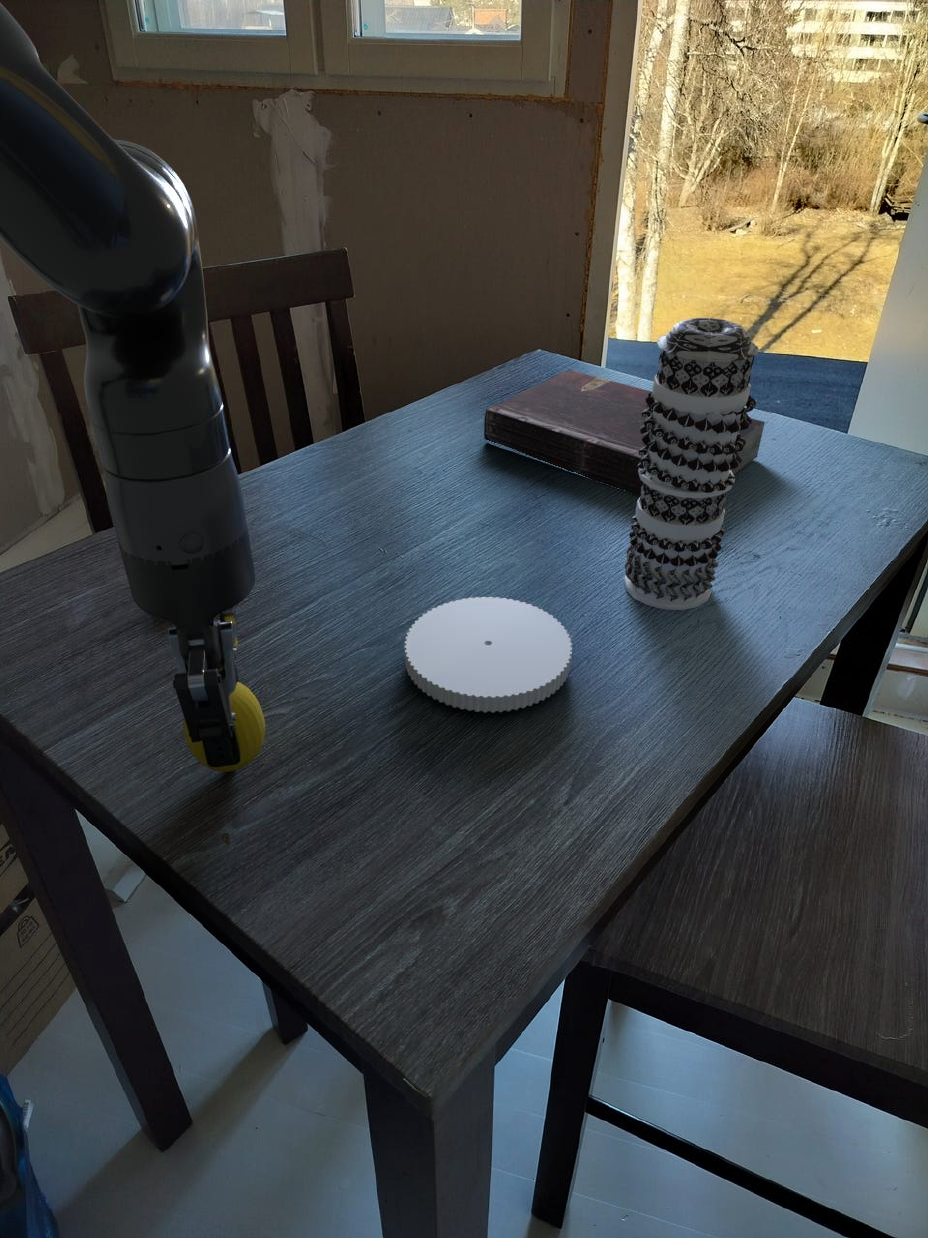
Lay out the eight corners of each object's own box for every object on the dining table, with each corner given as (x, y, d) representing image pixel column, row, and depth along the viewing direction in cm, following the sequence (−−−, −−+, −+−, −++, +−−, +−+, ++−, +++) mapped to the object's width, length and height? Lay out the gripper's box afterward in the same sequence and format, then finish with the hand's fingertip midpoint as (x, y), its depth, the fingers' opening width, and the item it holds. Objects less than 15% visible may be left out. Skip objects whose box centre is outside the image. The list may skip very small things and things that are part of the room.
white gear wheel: (493, 602, 81) (494, 579, 79) (604, 672, 72) (607, 649, 70) (372, 660, 73) (371, 637, 72) (480, 747, 64) (480, 722, 63)
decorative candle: (716, 618, 78) (775, 348, 64) (615, 605, 80) (650, 338, 66) (716, 568, 86) (768, 314, 71) (623, 556, 87) (656, 306, 73)
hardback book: (483, 443, 111) (484, 406, 108) (566, 403, 122) (569, 369, 119) (683, 513, 95) (691, 472, 92) (756, 459, 107) (764, 421, 104)
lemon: (180, 787, 61) (158, 702, 56) (216, 735, 65) (198, 653, 61) (251, 801, 60) (234, 715, 55) (283, 747, 64) (270, 664, 60)
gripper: (131, 477, 56) (179, 676, 66) (98, 596, 45) (163, 816, 54) (247, 468, 57) (277, 665, 67) (244, 581, 46) (282, 799, 56)
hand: (226, 731), depth 61 cm, fingers closed on lemon, 5 cm apart
